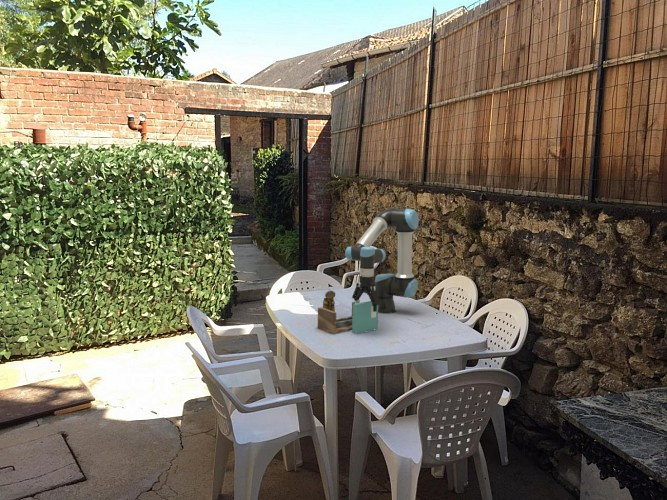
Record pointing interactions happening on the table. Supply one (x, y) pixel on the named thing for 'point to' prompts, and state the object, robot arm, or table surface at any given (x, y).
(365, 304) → the door panel
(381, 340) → the table surface
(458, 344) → the table surface
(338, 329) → the wooden rack
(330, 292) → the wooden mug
